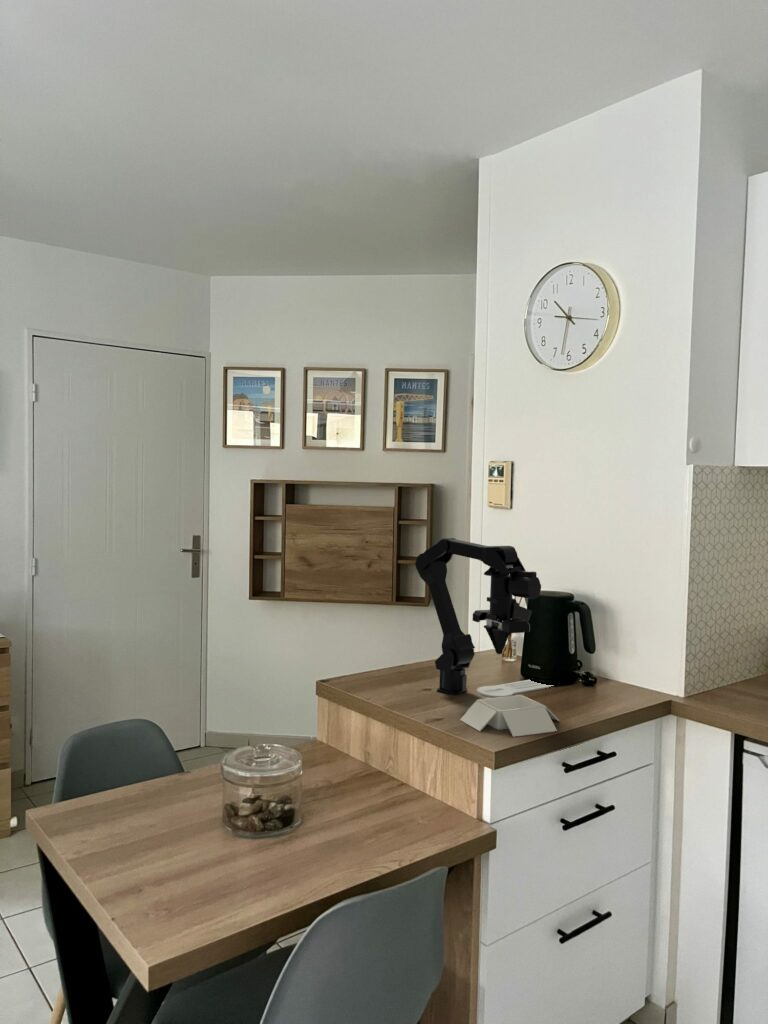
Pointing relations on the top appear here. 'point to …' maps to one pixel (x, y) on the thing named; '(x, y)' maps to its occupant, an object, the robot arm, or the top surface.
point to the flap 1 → (478, 716)
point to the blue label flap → (529, 721)
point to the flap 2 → (551, 714)
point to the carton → (507, 708)
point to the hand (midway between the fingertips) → (499, 654)
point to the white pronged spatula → (511, 688)
